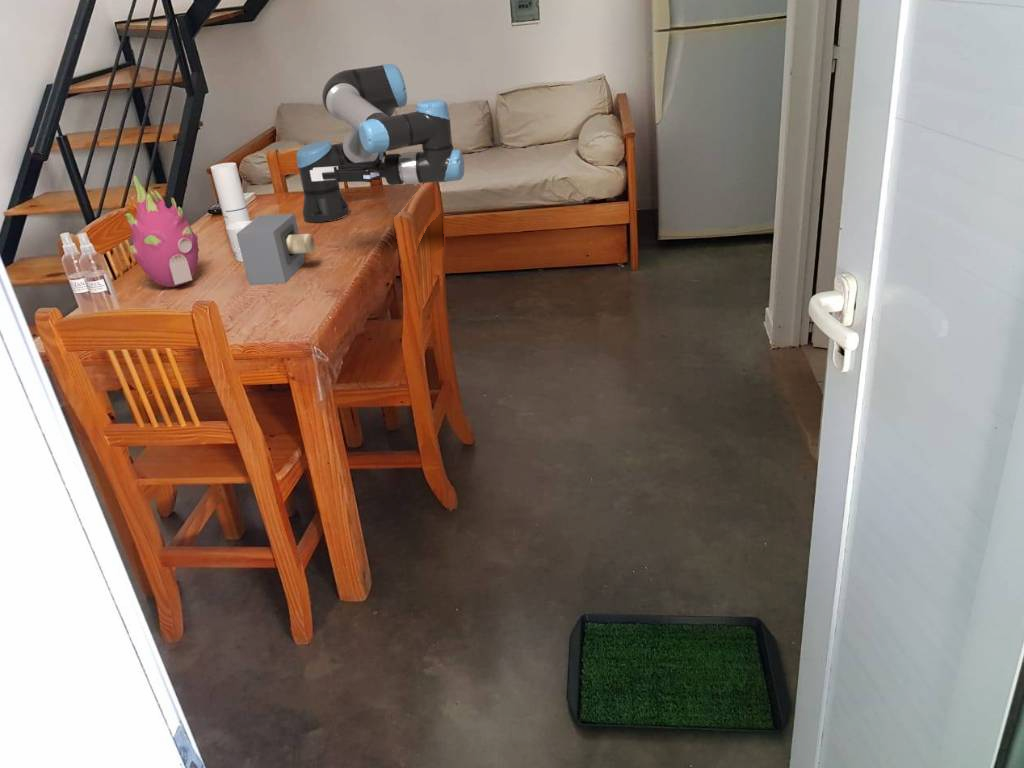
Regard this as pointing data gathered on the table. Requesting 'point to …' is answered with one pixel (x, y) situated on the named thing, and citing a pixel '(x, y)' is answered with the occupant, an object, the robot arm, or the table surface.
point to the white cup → (232, 231)
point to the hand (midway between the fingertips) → (312, 174)
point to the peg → (300, 243)
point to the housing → (269, 249)
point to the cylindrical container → (230, 193)
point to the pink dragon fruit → (162, 239)
